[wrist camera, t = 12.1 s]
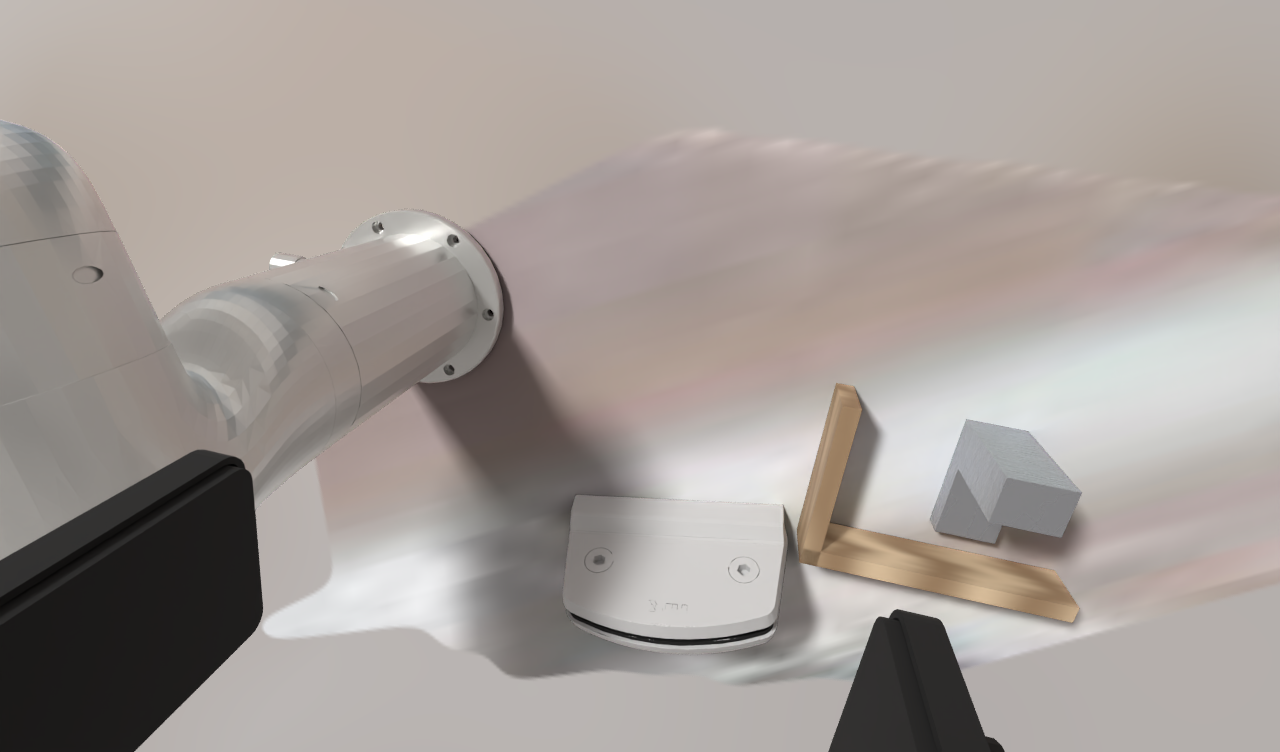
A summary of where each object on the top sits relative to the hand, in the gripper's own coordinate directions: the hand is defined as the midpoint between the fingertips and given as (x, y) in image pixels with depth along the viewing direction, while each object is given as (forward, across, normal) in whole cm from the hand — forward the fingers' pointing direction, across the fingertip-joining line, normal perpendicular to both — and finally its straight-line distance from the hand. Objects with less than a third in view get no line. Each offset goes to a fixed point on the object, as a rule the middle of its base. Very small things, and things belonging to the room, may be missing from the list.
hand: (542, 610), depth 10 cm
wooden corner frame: (+36, -19, +14) cm, 43 cm away
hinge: (+36, -2, +24) cm, 44 cm away
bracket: (+36, -21, +13) cm, 44 cm away
